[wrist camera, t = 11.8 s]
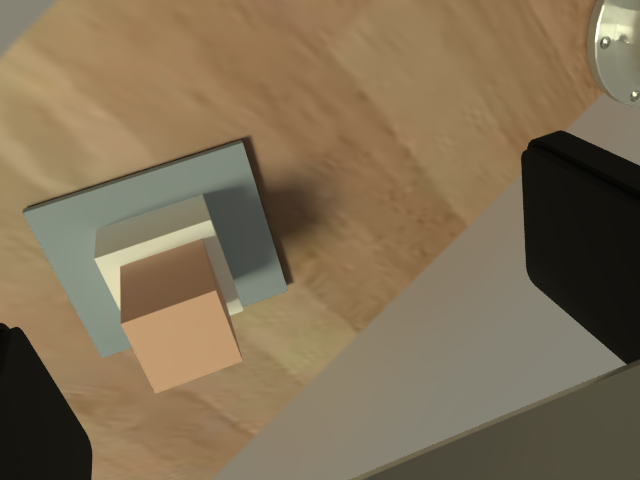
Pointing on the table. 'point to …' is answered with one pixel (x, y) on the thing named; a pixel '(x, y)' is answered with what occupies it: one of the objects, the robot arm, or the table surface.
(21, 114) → the table surface
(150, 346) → the terracotta block
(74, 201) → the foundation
